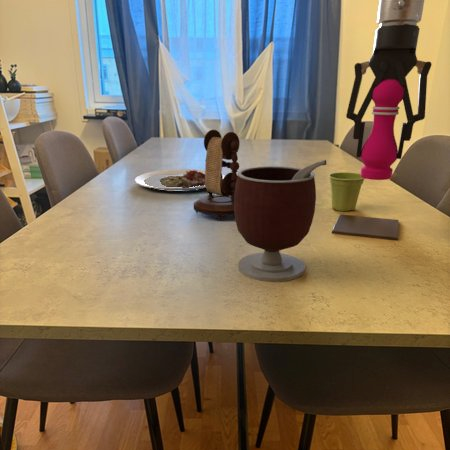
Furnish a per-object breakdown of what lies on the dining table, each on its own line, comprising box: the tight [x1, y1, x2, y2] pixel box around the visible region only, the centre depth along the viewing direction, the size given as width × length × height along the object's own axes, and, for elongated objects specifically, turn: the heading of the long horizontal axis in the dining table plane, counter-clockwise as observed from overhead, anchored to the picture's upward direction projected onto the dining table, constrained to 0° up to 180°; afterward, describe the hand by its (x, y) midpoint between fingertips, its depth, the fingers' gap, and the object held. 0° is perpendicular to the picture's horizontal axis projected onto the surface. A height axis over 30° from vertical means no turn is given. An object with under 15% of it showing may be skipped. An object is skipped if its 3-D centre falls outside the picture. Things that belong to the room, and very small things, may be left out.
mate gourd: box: [234, 159, 327, 283], centre depth 75 cm, size 16×14×20 cm
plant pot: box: [328, 171, 366, 212], centre depth 114 cm, size 9×9×9 cm
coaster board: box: [331, 213, 399, 241], centre depth 101 cm, size 14×14×1 cm
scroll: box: [193, 129, 241, 221], centre depth 107 cm, size 15×15×20 cm
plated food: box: [134, 168, 226, 191], centre depth 142 cm, size 30×30×3 cm
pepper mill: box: [359, 79, 404, 181], centre depth 86 cm, size 7×7×20 cm
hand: (378, 156), depth 89 cm, fingers closed on pepper mill, 7 cm apart
